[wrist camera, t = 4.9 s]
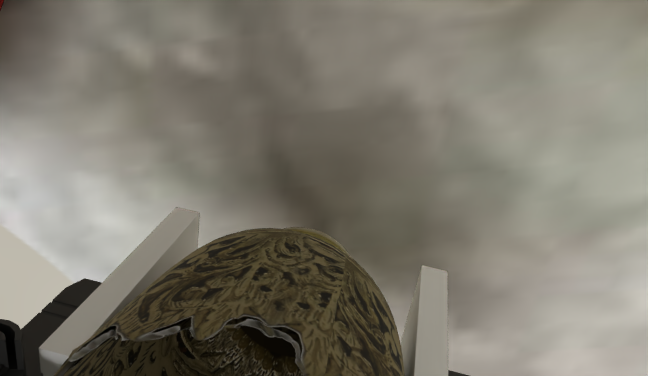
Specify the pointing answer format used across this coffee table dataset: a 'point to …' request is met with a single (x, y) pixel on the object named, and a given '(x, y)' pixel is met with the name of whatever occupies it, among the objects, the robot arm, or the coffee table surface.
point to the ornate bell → (251, 315)
